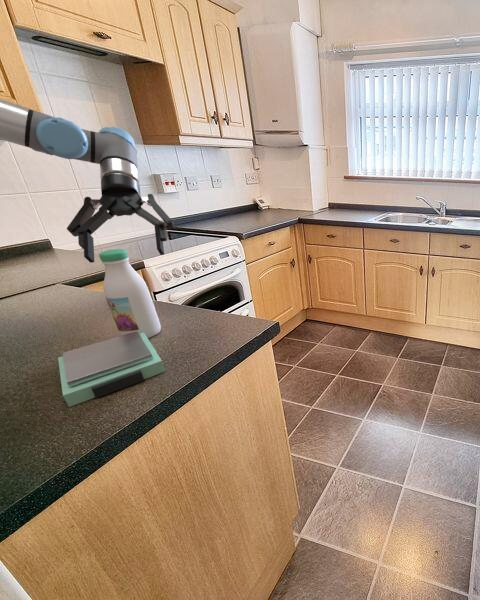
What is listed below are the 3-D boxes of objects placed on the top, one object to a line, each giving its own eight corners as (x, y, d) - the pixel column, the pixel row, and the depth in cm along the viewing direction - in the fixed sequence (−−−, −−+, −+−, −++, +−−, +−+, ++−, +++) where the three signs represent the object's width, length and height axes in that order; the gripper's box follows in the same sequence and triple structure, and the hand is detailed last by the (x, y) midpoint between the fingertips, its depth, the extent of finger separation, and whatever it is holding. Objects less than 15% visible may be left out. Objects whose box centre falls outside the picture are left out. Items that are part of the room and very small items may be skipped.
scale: (63, 368, 67) (57, 357, 66) (147, 341, 76) (143, 332, 75) (69, 409, 56) (63, 397, 55) (166, 373, 65) (162, 362, 64)
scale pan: (64, 357, 65) (62, 352, 65) (139, 334, 73) (137, 330, 72) (69, 387, 57) (67, 382, 56) (153, 358, 64) (151, 354, 64)
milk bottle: (154, 323, 84) (127, 244, 76) (167, 332, 80) (140, 250, 72) (116, 336, 78) (83, 252, 70) (129, 346, 74) (95, 258, 66)
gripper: (181, 190, 93) (191, 256, 86) (65, 195, 83) (66, 271, 77) (174, 170, 86) (183, 240, 80) (46, 173, 76) (45, 254, 70)
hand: (126, 255), depth 78 cm, fingers open, 13 cm apart
